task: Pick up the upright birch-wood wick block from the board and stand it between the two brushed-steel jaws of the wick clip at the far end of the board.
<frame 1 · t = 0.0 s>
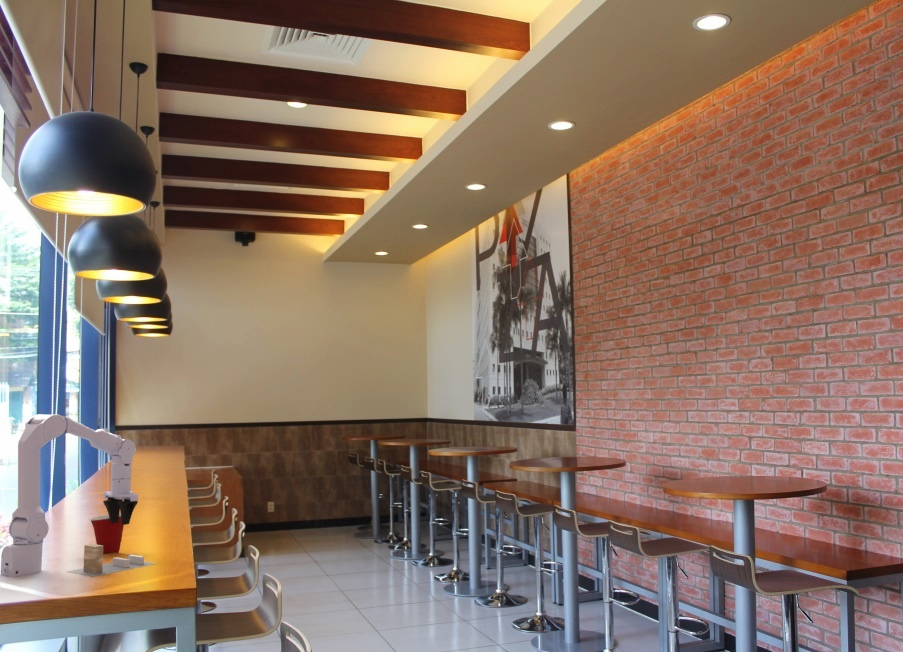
hand: (119, 523, 240), 10 cm above the bar counter, tool pointing down, fingers open, 5 cm apart
wick block: (92, 571, 216), point 1 cm above the bar counter, touching clip board
plastic cup: (108, 554, 245), on the bar counter, touching gripper
clip board: (112, 571, 221), on the bar counter
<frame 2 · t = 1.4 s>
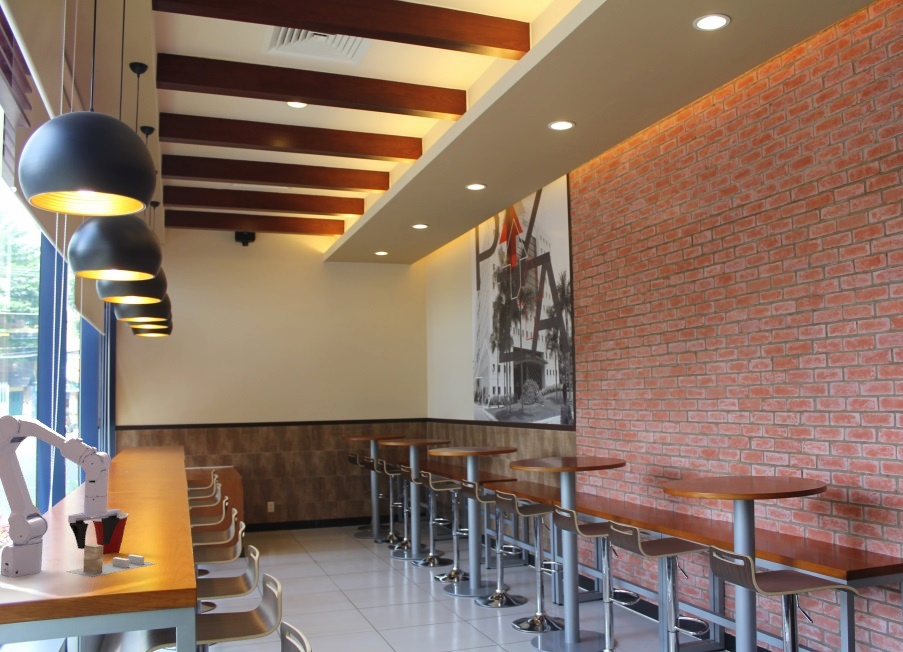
hand: (94, 546, 217), 8 cm above the bar counter, tool pointing down, fingers open, 7 cm apart
plastic cup: (108, 554, 245), on the bar counter
everything else where it was.
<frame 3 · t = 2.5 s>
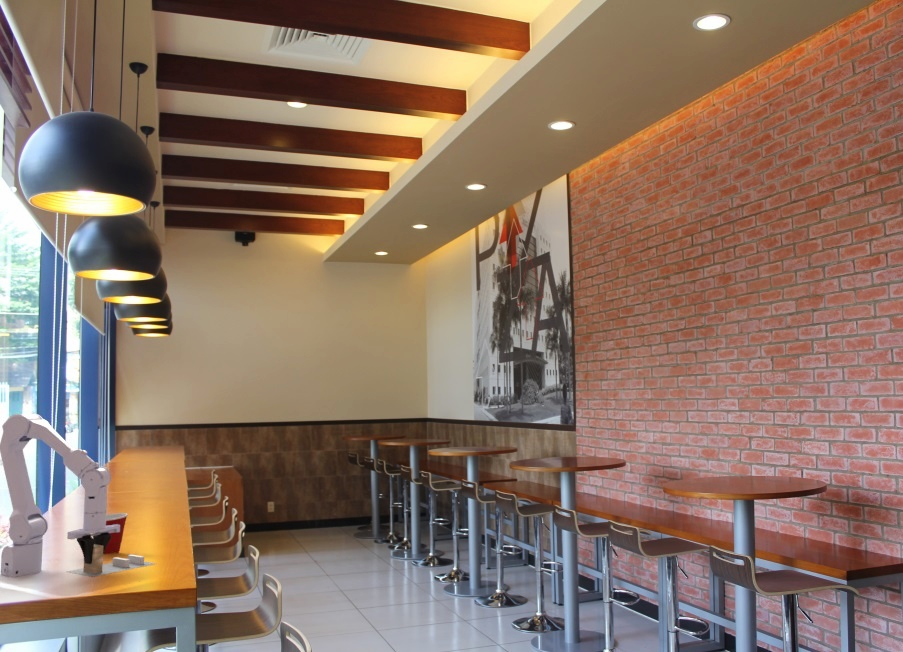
hand: (93, 562, 216), 3 cm above the bar counter, tool pointing down, fingers closed on wick block, 2 cm apart
wick block: (92, 571, 216), point 1 cm above the bar counter, touching clip board, gripper
everything else where it was.
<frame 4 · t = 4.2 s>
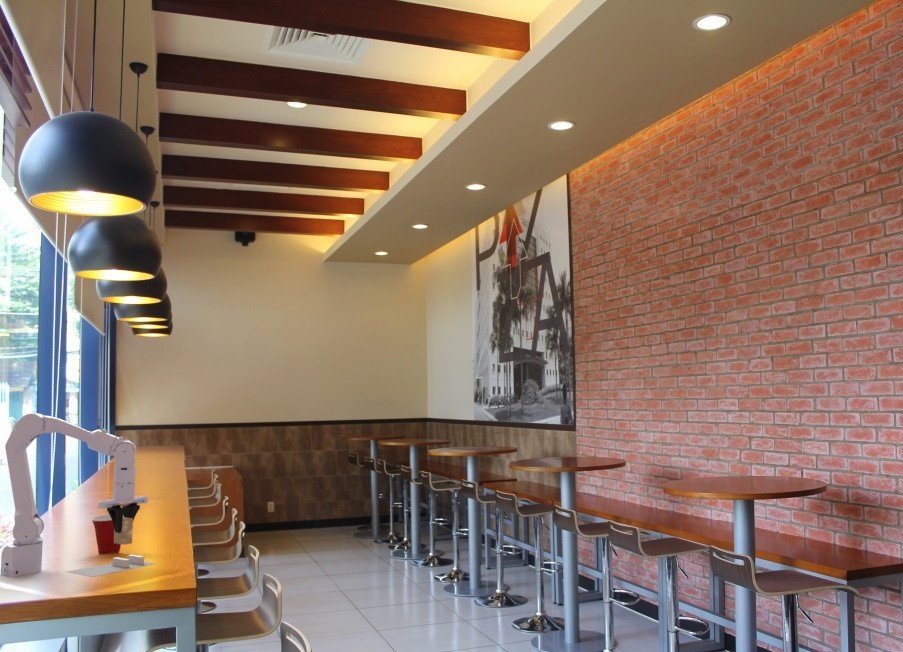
hand: (122, 531, 224), 11 cm above the bar counter, tool pointing down, fingers closed on wick block, 2 cm apart
wick block: (122, 543, 224), point 7 cm above the bar counter, touching gripper
everything else where it was.
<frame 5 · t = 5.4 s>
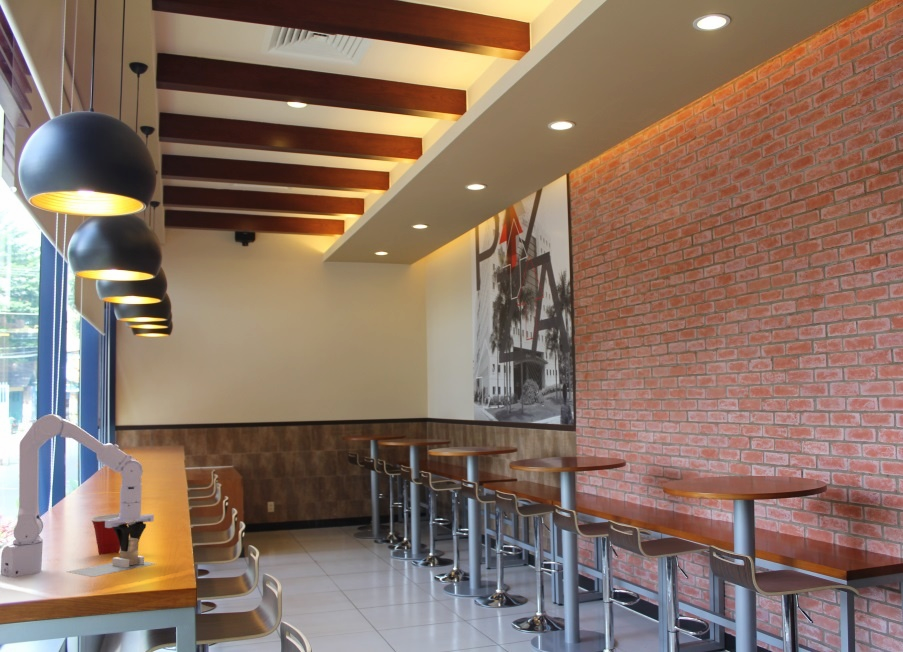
hand: (128, 550, 226), 5 cm above the bar counter, tool pointing down, fingers closed on wick block, 2 cm apart
wick block: (128, 563, 225), point 1 cm above the bar counter, touching gripper
everything else where it was.
when the fingers open (5 cm above the bar counter, at t = 6.2 s): wick block stays where it is, resting on clip board.
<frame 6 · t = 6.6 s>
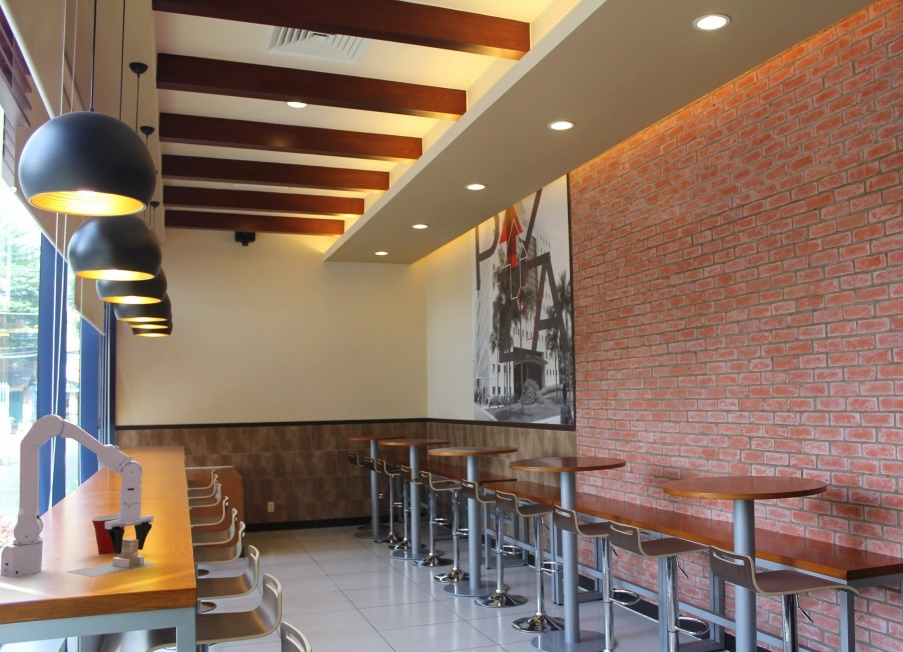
hand: (128, 551, 226), 5 cm above the bar counter, tool pointing down, fingers open, 6 cm apart
wick block: (128, 564, 225), point 1 cm above the bar counter, touching clip board
everything else where it was.
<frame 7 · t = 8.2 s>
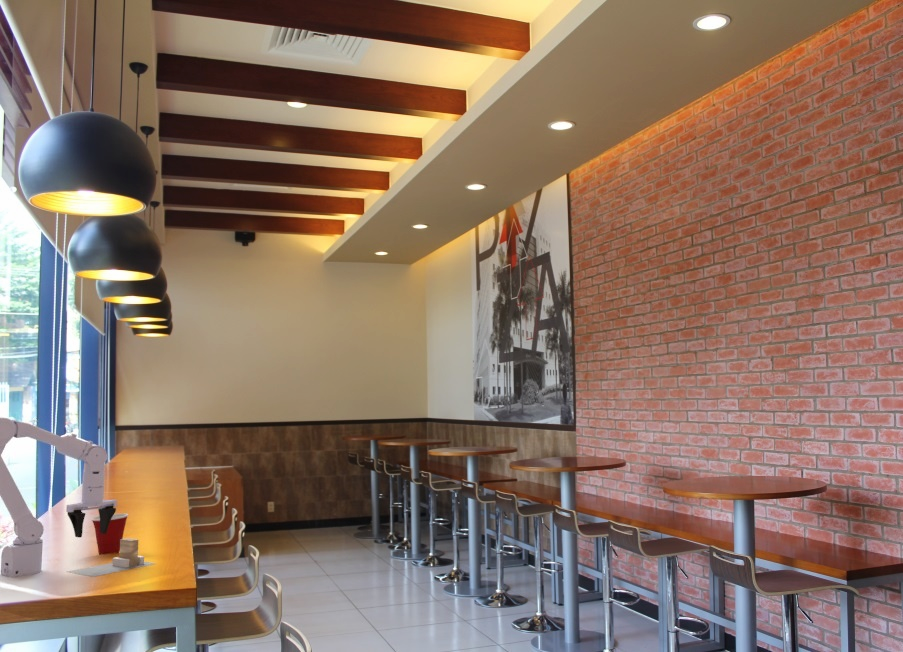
hand: (90, 535, 226), 9 cm above the bar counter, tool pointing down, fingers open, 7 cm apart
nothing on the bar counter moved.
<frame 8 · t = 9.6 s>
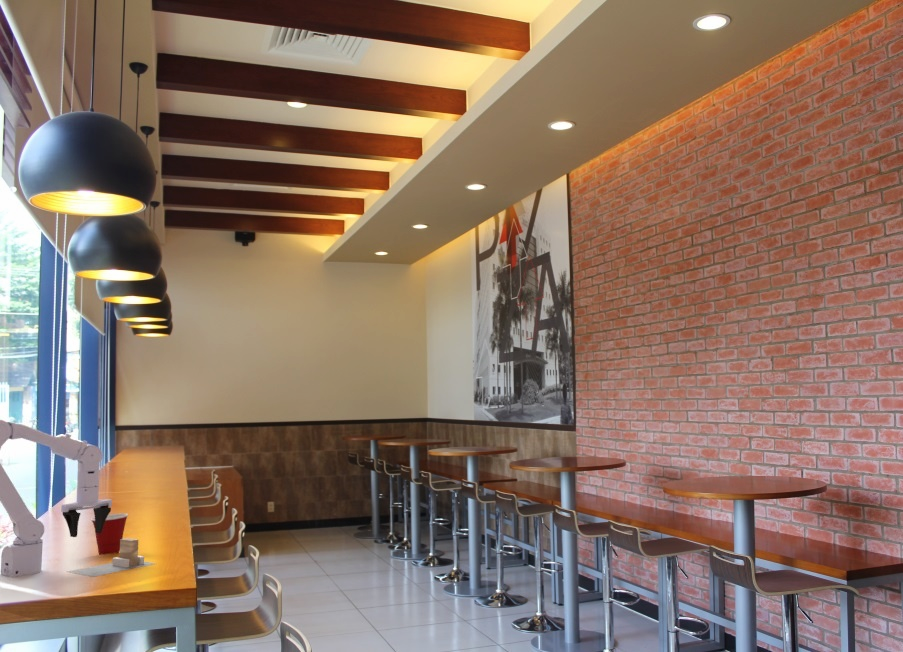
hand: (86, 534, 226), 9 cm above the bar counter, tool pointing down, fingers open, 7 cm apart
nothing on the bar counter moved.
at the end: wick block 0.0 cm from the target spot on the clip board, point 1.0 cm above the clip board's base; wick block tilted 0°; the gripper is holding nothing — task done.
